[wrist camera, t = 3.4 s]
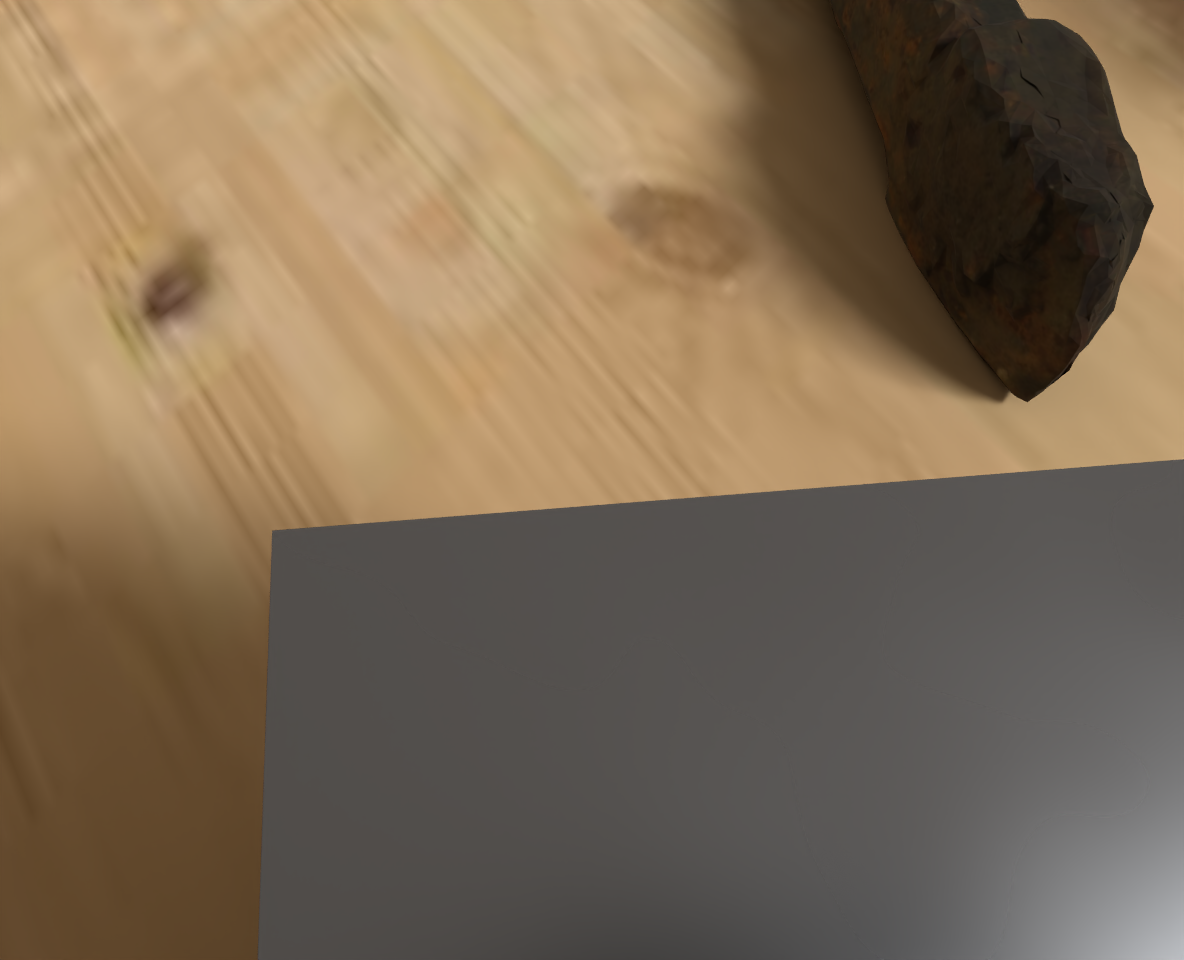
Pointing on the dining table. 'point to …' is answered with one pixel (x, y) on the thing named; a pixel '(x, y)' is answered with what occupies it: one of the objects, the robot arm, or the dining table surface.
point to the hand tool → (1002, 173)
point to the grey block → (736, 727)
